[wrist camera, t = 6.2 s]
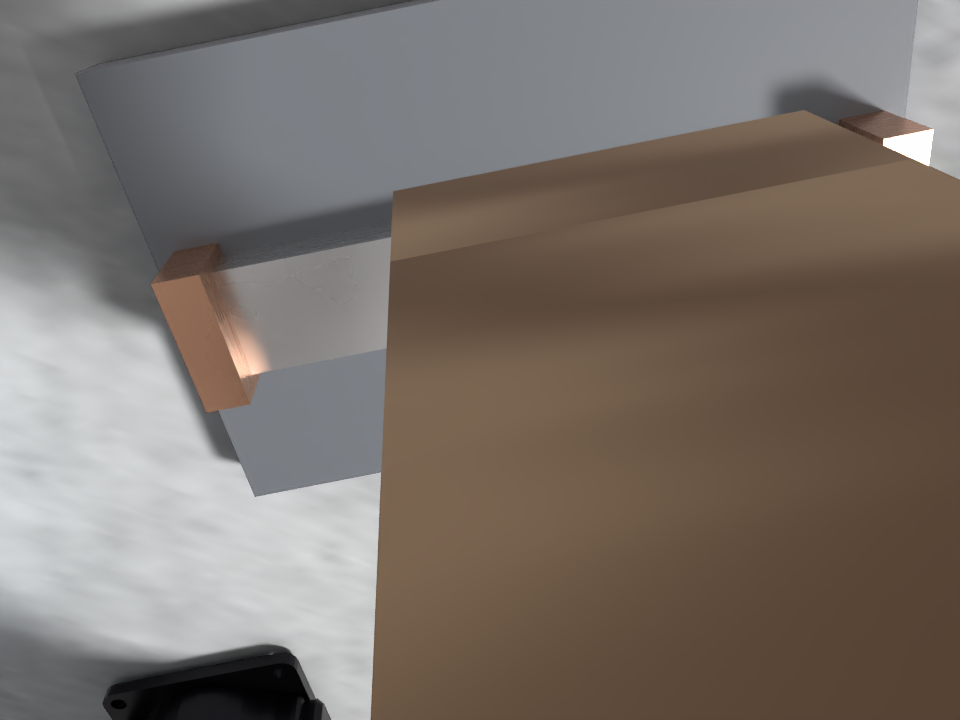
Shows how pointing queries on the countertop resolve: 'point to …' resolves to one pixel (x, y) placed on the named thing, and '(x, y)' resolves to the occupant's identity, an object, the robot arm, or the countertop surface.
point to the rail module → (674, 436)
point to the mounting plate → (444, 138)
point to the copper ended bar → (326, 293)
